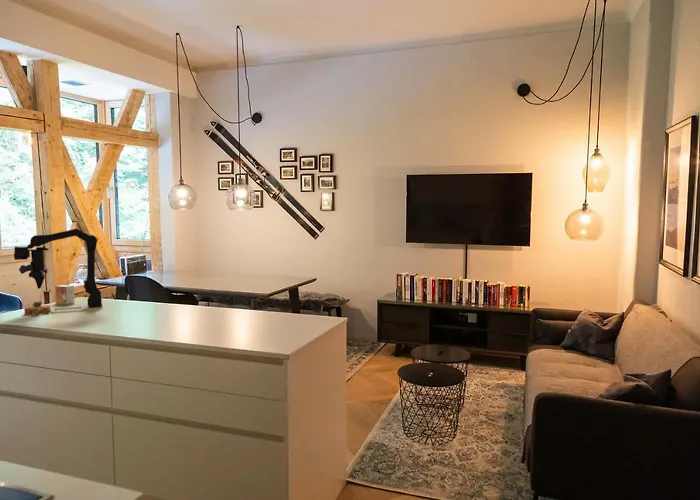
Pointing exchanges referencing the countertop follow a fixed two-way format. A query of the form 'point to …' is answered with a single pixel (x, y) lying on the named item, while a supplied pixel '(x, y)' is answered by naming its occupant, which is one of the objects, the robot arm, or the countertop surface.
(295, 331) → the countertop surface
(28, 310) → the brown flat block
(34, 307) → the wooden rectangular block
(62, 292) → the small box
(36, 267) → the robot arm
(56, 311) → the tray
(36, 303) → the tie
